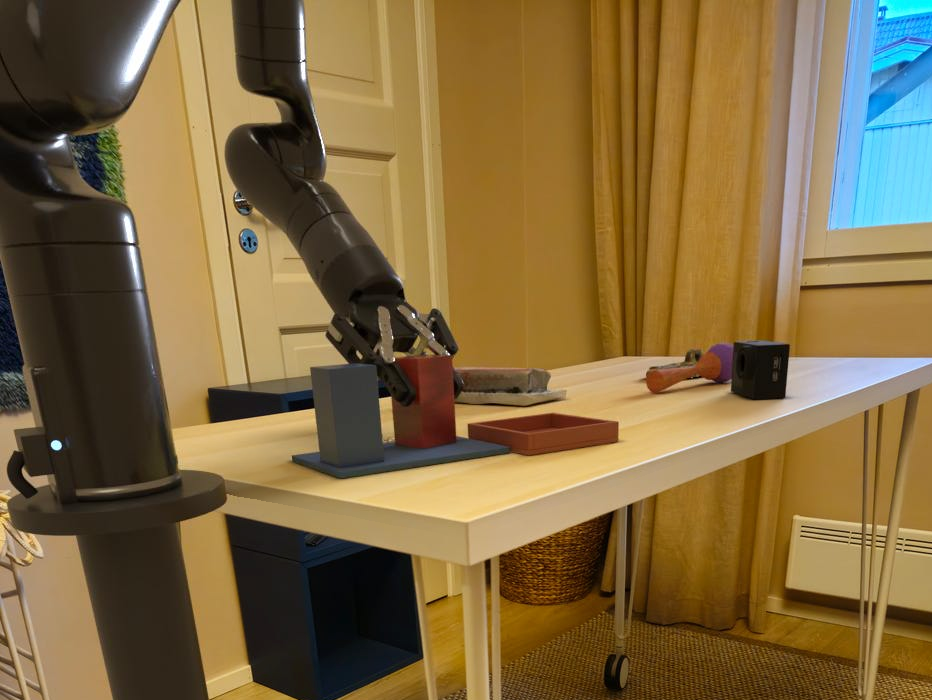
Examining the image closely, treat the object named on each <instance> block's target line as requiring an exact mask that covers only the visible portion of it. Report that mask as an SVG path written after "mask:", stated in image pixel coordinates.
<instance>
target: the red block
mask: <svg viewBox="0 0 932 700" xmlns="http://www.w3.org/2000/svg"><path fill="white" fill-rule="evenodd" d="M394 358H395V361H394V363H393V364H398V363H399V365H400V366H401V368H402V369H403V371H404V372H405V374H406V375H407V377H408V378H409V380H410V381H411V383H412V384H413V386H414V387H415V389H416V397H415V398H414V400H413V402H412V404H411V405H410V406H406V407H402V406H401V405H400V403H399V402H397V401H396V400H395V399H394V398H393V397H392V395H391V394H390V396H391V397H390V398H391V409H392V410H391V413H392V423H393V435H394V437H393V438H394V442H395V445H399V446H406V447H414V448H421V449H425V448H430V447H436V446H441V445H446V444H451V443H456V442H457V440H456V436H457V424H456V423H457V422H456V406H455V405H456V403H455V402H454V383H453V367H454V364H453V359H452V355H435V354H427V355H414V356H406V355H405V356H404V355H403V356H396V357H395V356H394Z"/></svg>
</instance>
